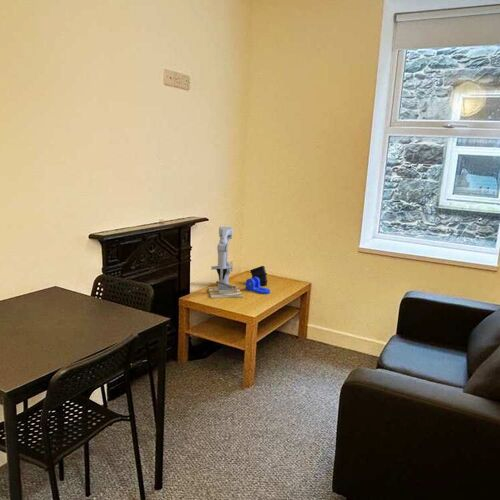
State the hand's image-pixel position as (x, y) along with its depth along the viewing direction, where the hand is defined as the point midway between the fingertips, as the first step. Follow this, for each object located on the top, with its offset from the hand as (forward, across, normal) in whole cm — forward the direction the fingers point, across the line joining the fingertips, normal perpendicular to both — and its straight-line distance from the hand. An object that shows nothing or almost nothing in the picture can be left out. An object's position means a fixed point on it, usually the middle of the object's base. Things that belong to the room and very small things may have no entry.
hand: (221, 279), depth 312 cm
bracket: (+11, +28, +4) cm, 30 cm away
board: (+10, +3, 0) cm, 11 cm away
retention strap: (+5, +3, 0) cm, 6 cm away
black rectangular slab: (+11, +31, +20) cm, 38 cm away
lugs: (+9, +2, 0) cm, 10 cm away
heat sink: (+9, +3, 0) cm, 10 cm away
